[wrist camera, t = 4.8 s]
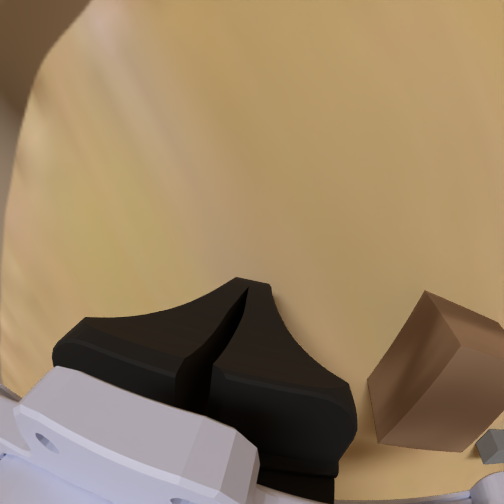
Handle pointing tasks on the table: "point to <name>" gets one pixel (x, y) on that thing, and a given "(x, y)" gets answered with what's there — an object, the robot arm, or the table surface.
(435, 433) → the walnut block
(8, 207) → the table surface
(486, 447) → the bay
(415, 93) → the table surface
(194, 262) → the table surface
